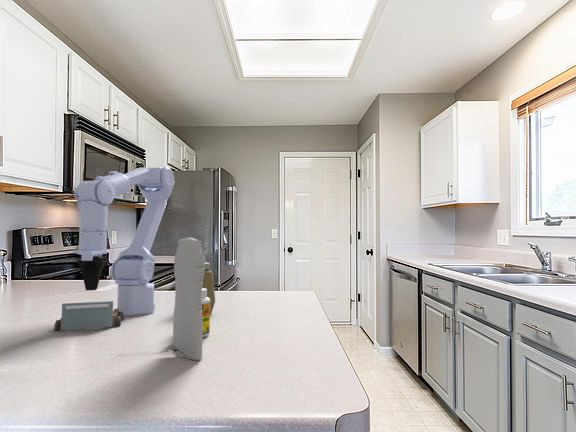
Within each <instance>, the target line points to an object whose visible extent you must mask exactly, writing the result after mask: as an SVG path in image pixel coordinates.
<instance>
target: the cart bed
mask: <svg viewBox="0 0 576 432" xmlns="http://www.w3.org/2000/svg"><path fill="white" fill-rule="evenodd" d="M61 319H62V316H61V318H60V319H57V320H55V323H54V328H53V329H54V332H65V331H68V330H61ZM123 320H124V315H123V312H119V309H117V308H113V325H112V327H111V328H119V327H121V324H122V322H123ZM105 328H106V329H108V328H110V327H101V328H100V329H105ZM89 329H90V330H93V329H96V328H87V329H86V330H89ZM79 330H82V329H73V330H72V331H79Z"/></svg>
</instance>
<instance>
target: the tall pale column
mask: <svg viewBox="0 0 576 432" xmlns="http://www.w3.org/2000/svg"><path fill="white" fill-rule="evenodd" d="M202 250H203V249H202V243H201V239H200V240H199V239H196V238H194V237H185V238H182V239H178V243H177V250H176V253H175V255H174V264H173V273H174V277H175V278H174V280H175V281H174V283H175V288H174V289H175V291H174V294H175V295H174V309H173V317H172V318H173V321H172V322H173V323H172V324H173V325H172V345H173V346H174V347H175V348H173V349H172V351H173V352H174V351H175V352H174V353H175V357H178V358H184V359H187V358H188V360H190V361H196V362H198V361H199V362H200V361H203V338H202V331H203V318H202V285H203V283H202V280H203V278H204V265H205V259H206V257H205V258H204V257H203V255H202Z"/></svg>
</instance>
